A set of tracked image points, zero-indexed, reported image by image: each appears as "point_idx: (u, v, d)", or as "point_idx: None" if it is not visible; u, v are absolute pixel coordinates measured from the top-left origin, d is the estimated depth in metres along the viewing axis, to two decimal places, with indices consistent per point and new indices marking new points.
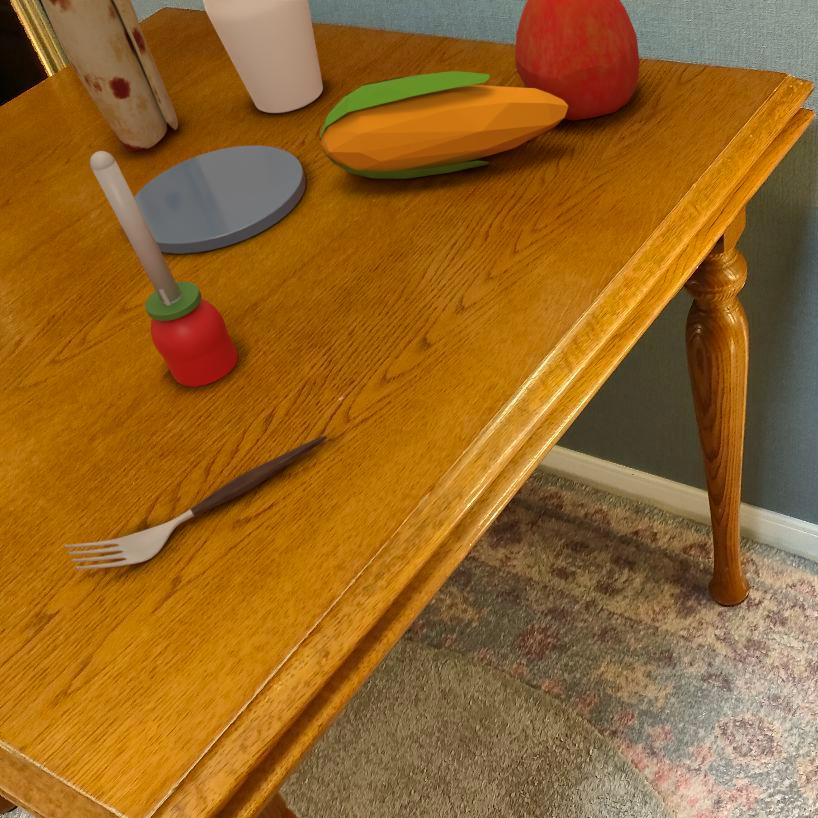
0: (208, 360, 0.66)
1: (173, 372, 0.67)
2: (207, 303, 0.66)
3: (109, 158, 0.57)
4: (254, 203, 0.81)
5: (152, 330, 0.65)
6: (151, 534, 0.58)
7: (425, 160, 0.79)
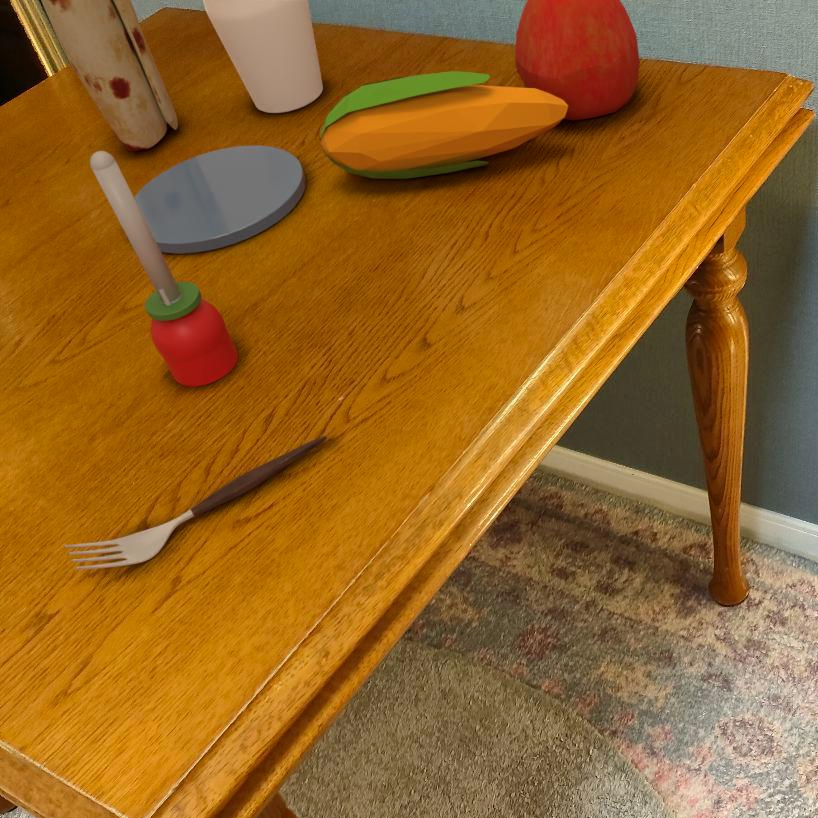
0: (208, 360, 0.66)
1: (173, 372, 0.67)
2: (207, 303, 0.66)
3: (109, 158, 0.57)
4: (254, 203, 0.81)
5: (152, 330, 0.65)
6: (151, 534, 0.58)
7: (425, 160, 0.79)
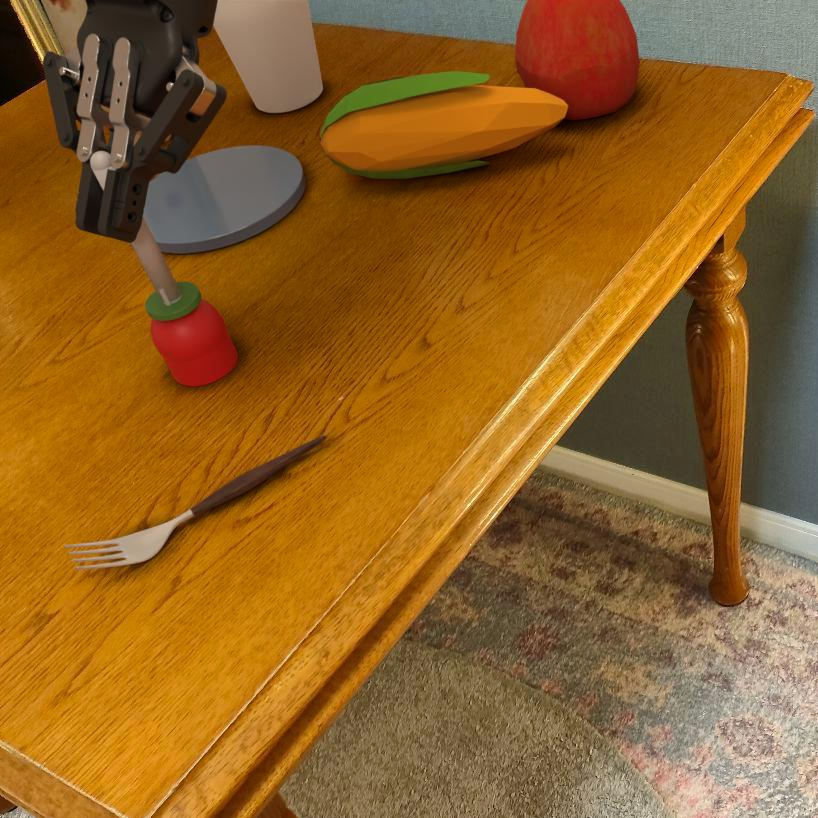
0: (208, 360, 0.66)
1: (173, 372, 0.67)
2: (207, 303, 0.66)
3: (109, 158, 0.57)
4: (254, 203, 0.81)
5: (152, 330, 0.65)
6: (151, 534, 0.58)
7: (425, 160, 0.79)
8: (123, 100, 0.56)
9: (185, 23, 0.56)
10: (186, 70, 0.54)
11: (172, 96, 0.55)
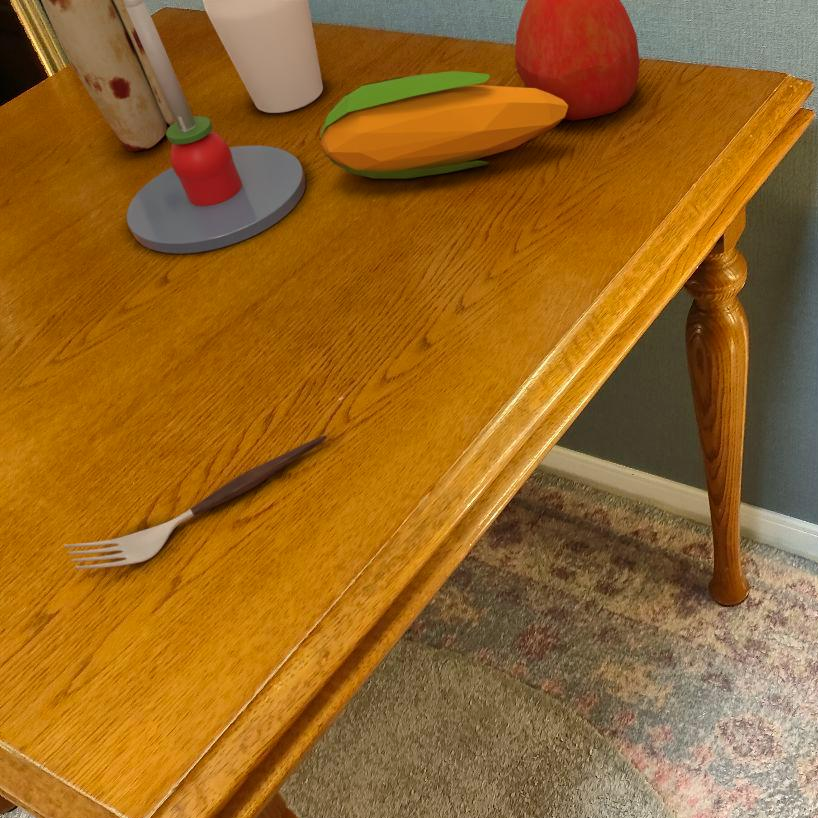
0: (217, 181, 0.81)
1: (188, 193, 0.81)
2: (217, 134, 0.80)
3: None
4: (254, 203, 0.81)
5: (172, 155, 0.80)
6: (151, 534, 0.58)
7: (425, 160, 0.79)
8: None
9: None
10: None
11: None
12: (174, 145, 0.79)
